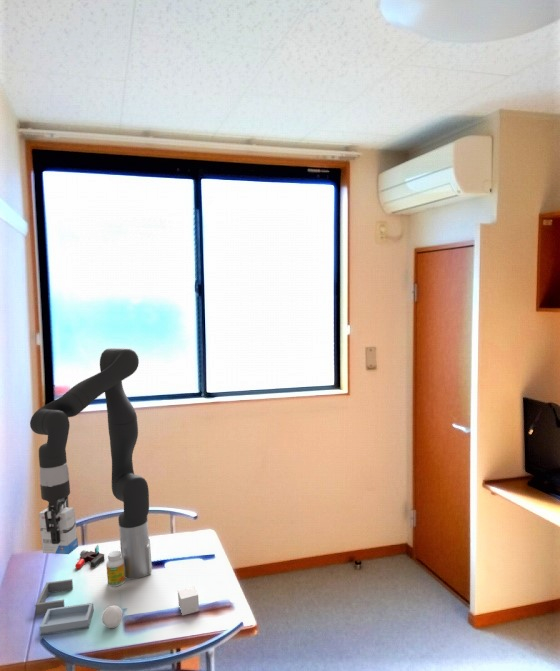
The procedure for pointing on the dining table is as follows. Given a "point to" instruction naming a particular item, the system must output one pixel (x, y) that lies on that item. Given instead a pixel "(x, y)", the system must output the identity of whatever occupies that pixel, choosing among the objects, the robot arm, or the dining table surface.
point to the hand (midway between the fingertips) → (59, 537)
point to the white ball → (112, 616)
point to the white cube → (188, 600)
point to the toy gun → (90, 558)
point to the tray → (67, 619)
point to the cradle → (50, 587)
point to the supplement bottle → (115, 569)
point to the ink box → (66, 533)
